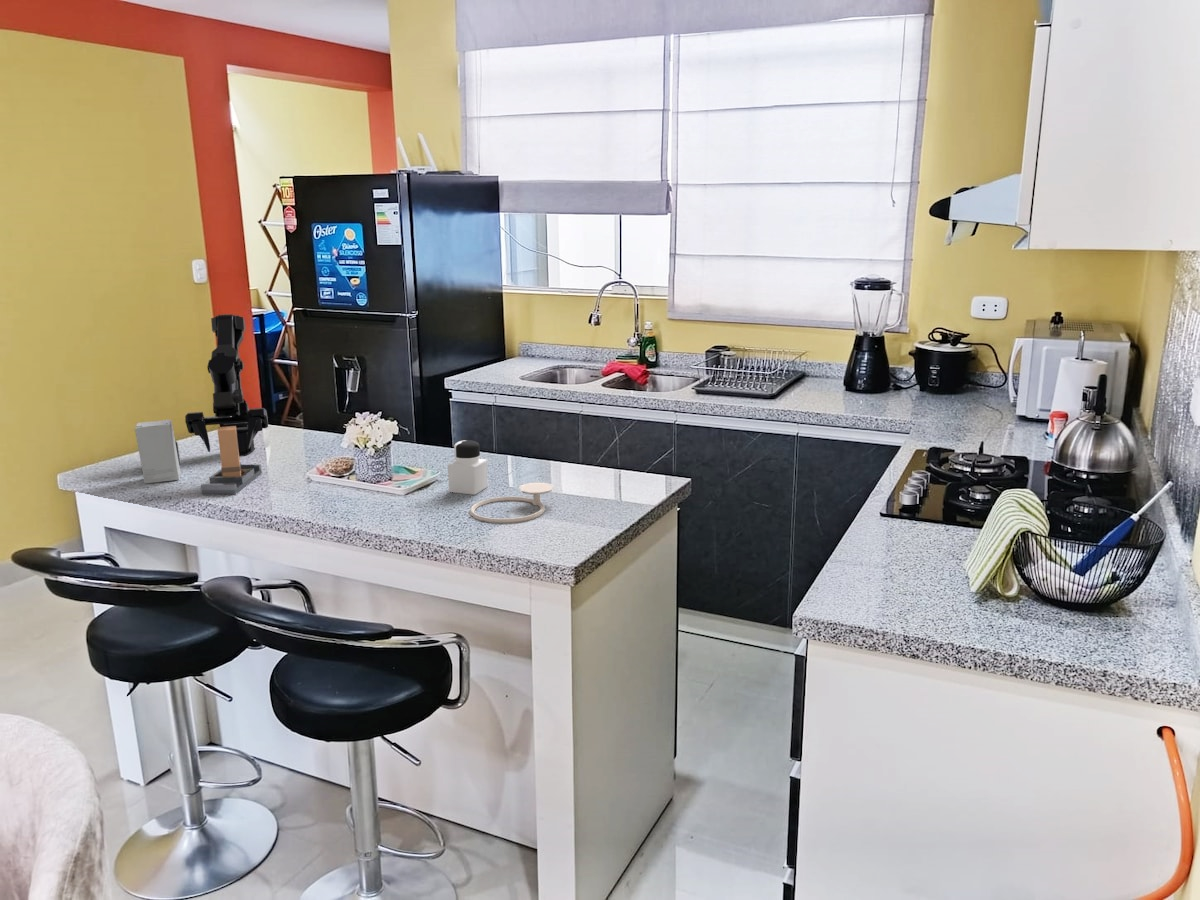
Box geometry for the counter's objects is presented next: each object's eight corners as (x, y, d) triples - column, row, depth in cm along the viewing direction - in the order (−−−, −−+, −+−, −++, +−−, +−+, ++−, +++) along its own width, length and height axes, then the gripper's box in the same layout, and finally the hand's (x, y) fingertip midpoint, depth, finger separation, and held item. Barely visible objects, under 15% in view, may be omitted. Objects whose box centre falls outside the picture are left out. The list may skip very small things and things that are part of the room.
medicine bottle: (488, 487, 224) (486, 439, 221) (475, 495, 217) (473, 446, 214) (462, 484, 226) (460, 437, 223) (448, 492, 220) (446, 444, 217)
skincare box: (180, 474, 235) (173, 418, 231) (179, 481, 230) (171, 423, 226) (144, 478, 232) (137, 421, 228) (142, 484, 227) (134, 426, 223)
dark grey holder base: (201, 494, 218) (200, 483, 218) (230, 473, 236) (229, 463, 235) (235, 494, 219) (234, 483, 218) (261, 473, 236) (260, 463, 235)
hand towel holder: (455, 492, 207) (531, 476, 219) (456, 510, 208) (531, 493, 220) (493, 510, 193) (572, 492, 206) (494, 530, 195) (572, 511, 207)
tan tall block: (223, 477, 228) (218, 427, 225) (241, 476, 229) (236, 425, 226) (222, 482, 224) (217, 430, 221) (241, 480, 226) (235, 429, 222)
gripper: (181, 380, 221) (182, 435, 214) (262, 376, 227) (266, 429, 220) (188, 406, 231) (189, 459, 223) (266, 401, 236) (269, 452, 229)
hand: (228, 449), depth 224 cm, fingers open, 9 cm apart
